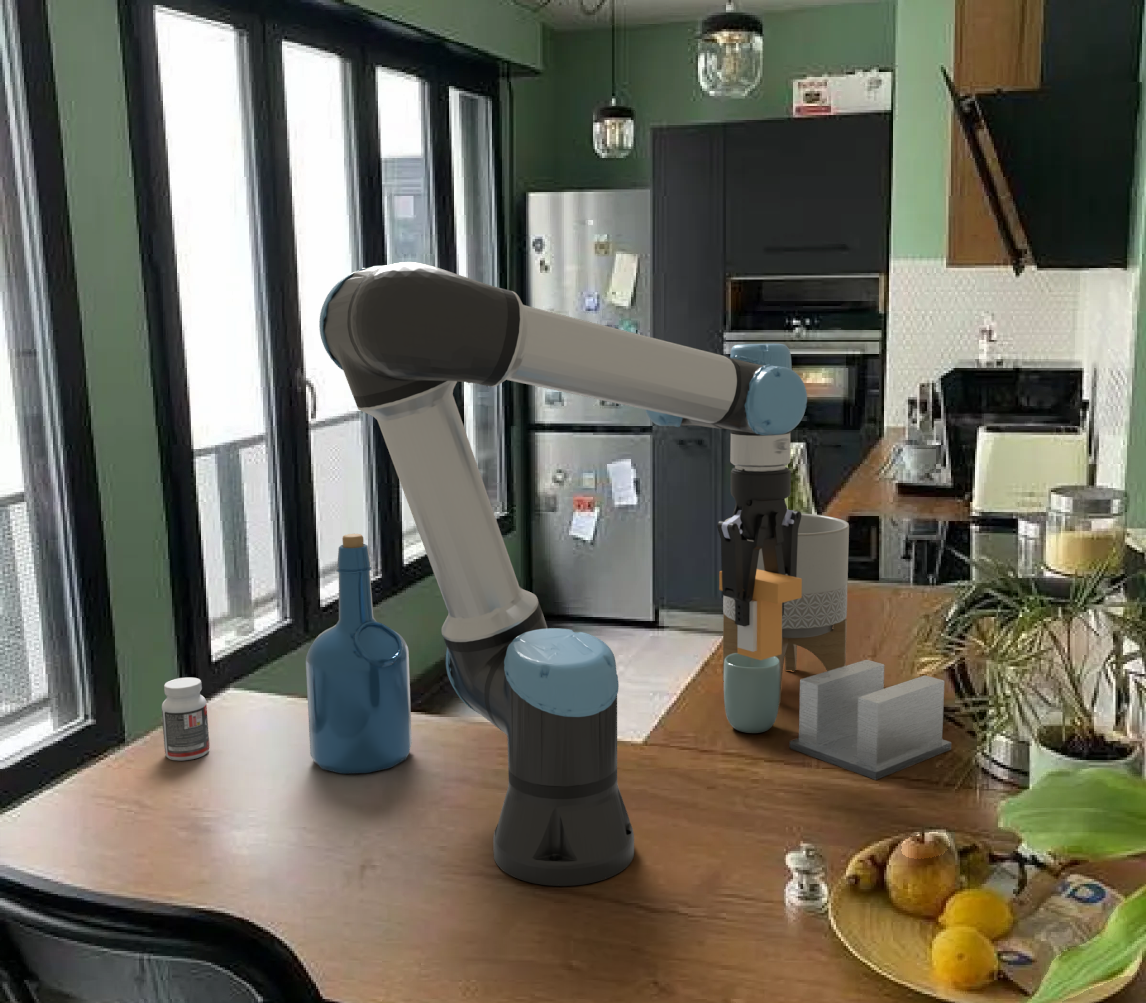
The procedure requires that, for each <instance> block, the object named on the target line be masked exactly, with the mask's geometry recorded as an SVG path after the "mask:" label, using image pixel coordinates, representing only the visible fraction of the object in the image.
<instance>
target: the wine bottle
mask: <svg viewBox="0 0 1146 1003" xmlns="http://www.w3.org/2000/svg"><path fill="white" fill-rule="evenodd" d="M337 552H338V553H337V565H336V566H337V568H336V572H337V573H338V621H337V622H336V624H335V625H333V626H331V627H329V628H327V629H325V630H324V631H322V632H321V633H319V634H318V636H316V637H315V639H314V641H313V642H312V644H310V647H309V648H308V651H307V653H306V655H305V671H306V674H305V675H306V689H307V690H306V693H307V710H308V712H307V715H308V731H309V732H308V733H309V734H308V735H309V736H308V737H309V753H310V755H309V756H310V757H311V759H312V760H313V763H315V764H316V765H317V766H318V767H319V768H320V769H322V770H325V771H329V772H334V773H339V774H369V773H372V772H377V771H381V770H382V771H383V770H387V769H390V768H394V767H395V766H397V765H399V764H400V763H402V762H403V761H406V760H407V758H408V755H409V753H410V751H411V747H412V743H413V742H412V740H413V739H412V714H411V713H412V712H411V686H410V684H411V682H410V681H411V680H410V679H411V678H410V658H409V656H410V655H409V653H410V652H409V646H408V645H407V642H406V640H405V639H404V638H403V636H402V635H401V634H400V633H398V632H397V631H395V630H394V629H393V628H390V627H389V626H387V625H385V624H384V623H381V622H378V621H377V620H376V618H375V617H374V609H373V594H372V585H371V583H372V581H371V571H372V568H373V567H372V565H371V564H372V563H371V558H370V553H369V552H370V551H369V546H368V545H367V544H365V543H364V537H363V535H362V534H361V533H347V534H345V535H343V536H342V544H341V545H340V546H339V547H338V551H337Z"/></svg>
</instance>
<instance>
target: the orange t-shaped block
mask: <svg viewBox="0 0 1146 1003" xmlns="http://www.w3.org/2000/svg"><path fill="white" fill-rule="evenodd" d="M718 575H719V578H718V580H719V586H718V590H719V591H721V592H722V570H720V571H719V574H718ZM743 591H744V589H743ZM799 598H802V578H797V577H792V576H788V575H783V574H778V573H773V572H768V571H764V570H759V569H757V571H756V578H755V585H754V592H753V598H752V600H754V601H757V651H754V652H752V651H749V650H745V649H742V648H738V653H737V654H741V655H744V656H747V657H751V658H754V659H758V660H763V659H767V658H770V657H774V656H777V655H780V654H782V603H783V602H787V601H791V600H795V599H799Z"/></svg>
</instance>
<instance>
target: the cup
mask: <svg viewBox="0 0 1146 1003" xmlns="http://www.w3.org/2000/svg"><path fill="white" fill-rule="evenodd" d="M779 699H780V661H779V659H778V658H777V657H776V656H774V657H770V658H767V659H763V660H758V659H754V658H751V657H747V656H744V655H741V654H737V653H733V654H730V655H728V656H727V657H726V658H725V660H724V682H723V701H724V711H725V716H726V719H727V721H728V723H729V725H730V726H731V727H732V728H734V730H736V731H739V732H742V733H747V734H760V733H764V732H767V731H768V730H770V729H771V728H772V727H773V726H774V725H775V722H776V721H777V720H776V719H777V717H778V712H779V708H780V704H779Z"/></svg>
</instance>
